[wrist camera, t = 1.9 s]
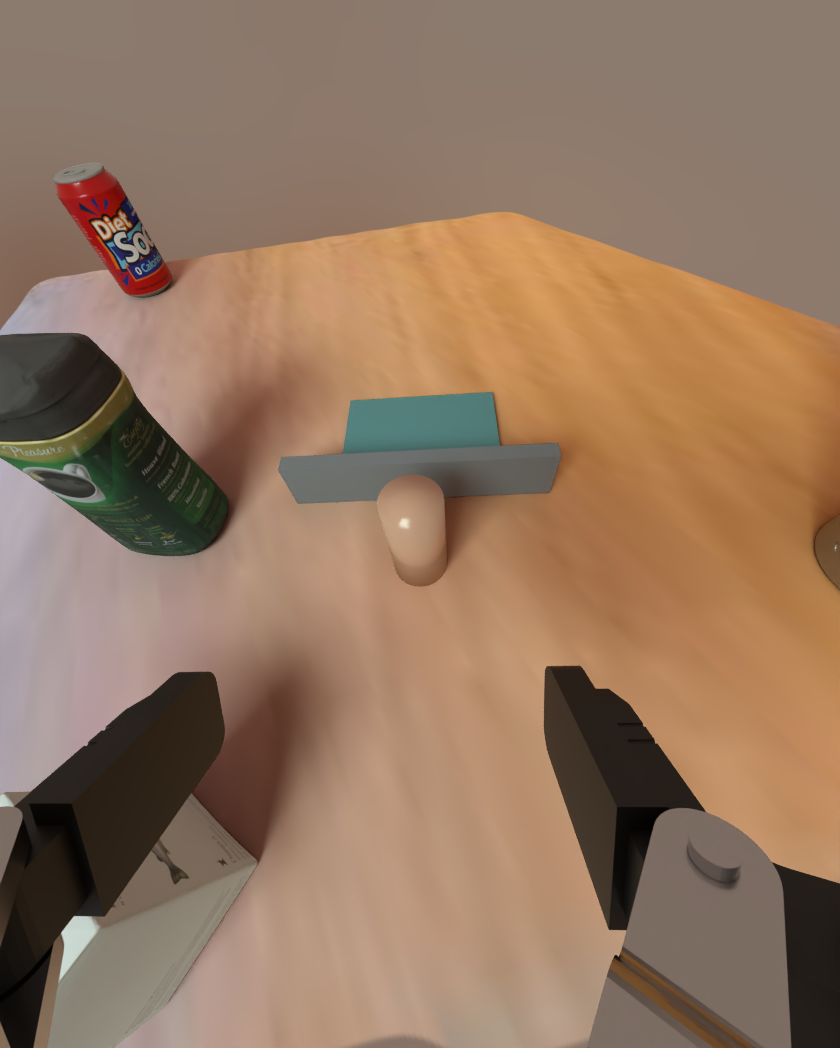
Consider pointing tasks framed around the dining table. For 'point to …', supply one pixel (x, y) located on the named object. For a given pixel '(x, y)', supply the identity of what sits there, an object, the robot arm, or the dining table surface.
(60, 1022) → the supplement box
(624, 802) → the robot arm
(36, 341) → the coffee jar
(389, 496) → the tan domed capsule
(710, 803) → the dining table surface
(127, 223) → the soda can
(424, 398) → the teal mat
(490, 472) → the low wall
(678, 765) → the dining table surface
